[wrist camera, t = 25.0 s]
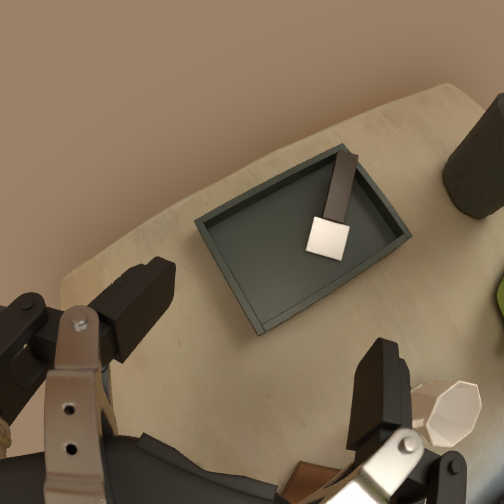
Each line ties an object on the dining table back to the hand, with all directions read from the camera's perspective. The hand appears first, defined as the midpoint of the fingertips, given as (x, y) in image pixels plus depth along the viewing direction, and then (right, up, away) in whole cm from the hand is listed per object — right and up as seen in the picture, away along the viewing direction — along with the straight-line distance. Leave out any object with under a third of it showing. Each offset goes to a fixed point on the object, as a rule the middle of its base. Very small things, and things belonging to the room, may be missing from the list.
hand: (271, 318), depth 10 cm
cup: (+17, -15, +16) cm, 27 cm away
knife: (+7, +2, +20) cm, 21 cm away
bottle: (+30, +12, +22) cm, 39 cm away
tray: (+5, +4, +22) cm, 23 cm away
